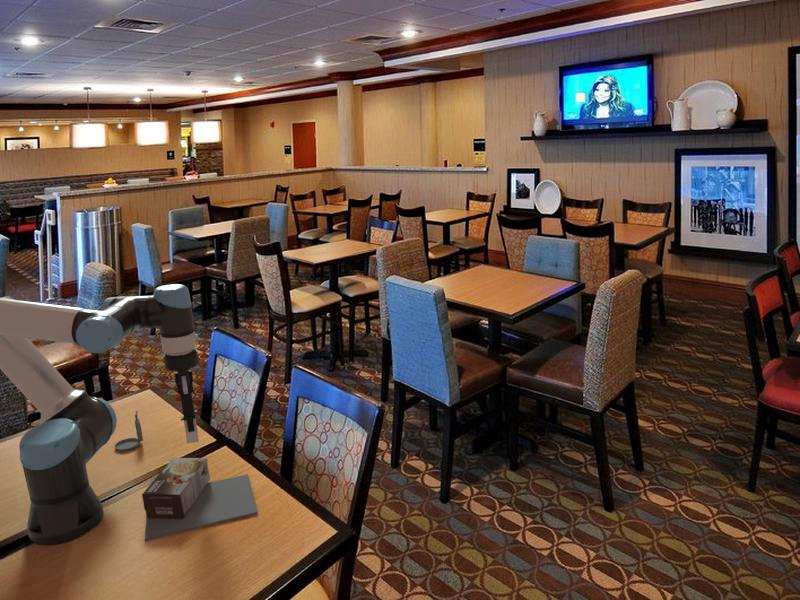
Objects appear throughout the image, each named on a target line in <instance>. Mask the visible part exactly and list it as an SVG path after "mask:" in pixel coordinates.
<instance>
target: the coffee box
mask: <svg viewBox="0 0 800 600" xmlns="http://www.w3.org/2000/svg"><path fill="white" fill-rule="evenodd" d="M209 470H210V469H209V465H208V459H207V458H206V457H203V458H202V457H173V458H171V459H170V461H169V462H168V463H167V464H166V465H165V467H164V468H163V469H162V470H161V471H160V473H159V474H158V475H157V476H156V477H155V478H154V480H153V481H152V482H151V483H150V484H149V486H147V488H146V489H145V490H144V491H143V493H142V494H141V497H142V503H143V508H144V511H145V517H146V516H147V518H184V517H185V515H186V514H187V512H188V511H189V509H190V508H191V506H192V505H193V503H194V502H195V501H196V499H197V498H198V496H199V495H200V493H201V492H202V490H203V489H204V488H205V486H206V485H207V483H209V481H210V480H211V476H210V471H209Z"/></svg>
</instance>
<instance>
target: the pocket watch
mask: <svg viewBox="0 0 800 600" xmlns="http://www.w3.org/2000/svg"><path fill="white" fill-rule="evenodd" d="M138 415H139V414H138V410H136V411H135V415H134V418H135V419H134V426H135V431H136V435H137V438H136V437H128V438H125V439H121V440H119V441H118V442H116V443H115V444H114V449H115V450H116V451H119V452H126V451H131V450H134V449H135V448H137V447H139V446H140V444H141V442H143V441H144V438H143V437H144V436H143V431H142V426H141V421H140V419H139V418H138Z"/></svg>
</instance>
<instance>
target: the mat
mask: <svg viewBox="0 0 800 600" xmlns="http://www.w3.org/2000/svg"><path fill="white" fill-rule="evenodd" d="M258 513H259V511H258V509H257V504H256V500H255V497H254V492H253V489H252V482H251V479H250V477H249V474H248V473H247V474H243V475H237V476H233V477H228V478H222V479H219V480H215V481H210V482H208V483H207V485H206V486H205V488H204V489H203V490H202V492H201V493H200V495H199V496H198V498H197V499H196V501H195V502H194V503H193V505H192V506H191V508H190V509H189V511H188V512H187V514H186V515H185V517H184V518H147V516H146V515H145V526H144V527H145V529H144V530H145V532H144V541H145V542H148V541H151V540H154V539H155V540H156V539H160V538H164V537H168V536H172V535H176V534H180V533H184V532H188V531H193V530H197V529H202V528H205V527H210V526H215V525H218V524H222V523H226V522H231V521H235V520H239V519H242V518H247V517H251V516H256V515H259V514H258Z"/></svg>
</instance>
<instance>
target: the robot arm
mask: <svg viewBox="0 0 800 600" xmlns="http://www.w3.org/2000/svg"><path fill="white" fill-rule="evenodd" d="M1 291H2V290H1V289H0V293H1ZM192 305H193V304H192V300H191V296H190V291H189V288H188V287H187V286H186V285H185V284H181V283H180V284H179V283H172V284H165V285H161V286H157V287H155V289H154V291H153V294H152V295H133V296H132V295H130V296H129V295H128V296H125V295H118V296H113V297H106V299H104V300H103V302H102V304H101V306H100V309H98V310H97V309H90V308H89V309H88V308H82V307H75V306H68V305H67V306H66V305H58V304H50V303H41V302H34V301H28V300H27V301H26V300H25V301H24V300H18V299H11V298H10V299H9V298H2V297H1V296H0V370H1V372H2V373H3V374H4V375H5V376H6V377H7V378H8V379H9V380H10V382H12V384H13V385H14V386H15V387H16V389H18V390H19V391H20V392H21V393H22V394H23V396H24V397H26V398H27V400H28V401H29V402H30V403H31V404H32V405H33V406H34V408H36V409H37V411H39V413H40V421H39V424H37V425H35V426H33V427H31V428H30V429H28V431H26V432H25V433H24V434H23V436H22V437H21V439H20V441H19V444H18V445H19V446H18V449H19V460H20V463H21V466H22V469H23V473H24V478H25V482H26V487H27V491H28V495H29V499H30V505H29V506H30V507H29V512H28V518H27V524H26V529H27V535H28V538H29V540H30V541H31V542H32V543H35V544H38V545H48V546H49V545H57V544H62V543H66V542H69V541H72V540H74V539H78V538H79V537H82V536H84V535H86V534H87V533H88V532H90V531H92V530H93V529H95V528H96V527H97V526H98V525H99V523H101V521H102V519H103V518H104V508H103V504H102V501H101V500H100V498H99V497H98V495H97V494H96V492H95V491H94V490H93V488H92V486H91V485H90V480H89V475H88V472H87V463H89V462H90V460H91V459H92V458H93V457H94V456H95V454H96V453H98V451H99V450H100V449H101V448H102V447H103V446H105V445H107V443H109V440H110V439H111V437H112V436H113V434H114V433H115V430H116V427H117V422H118V421H117V413H116V411H115V410H114V408H113V406H112V405H111V404H110V403H109V402H108V401H106V400H105V399H103V398H98V397H96V396H90V395H89V394H88V393H87V392H86V390H84V389H75V388H73V387H72V385H71V384H70V383H69V381H67V380H66V379H65V378H64V376H62V374H61V373H60V372H59V371H58V369H56V367H55V366H54V365H53V364H52V363H51V362H50V361H49V360H48V359H47V358H46V356H45V355H44V354H43V353H42V352H41V351H40V350H39V348H38V347H37V346H36V345H35V344H34V343H33V341H31V340H30V339H32V340H41V341H50V342H51V341H52V342H56V343H57V342H59V343H67V344H76V345H79V347H81V348H82V349H83V350H84V351H87V352H88V353H91V354H102V353H106V352H107V351H109V350H111V349H113V348H115V347H116V346H118V345H119V343H121V341H123V340H125V338H127V337H128V336H130V335H131V334H132V333H134V332H135V331H137V330H139V329H155V328H158V329H159V334H160V337H159V338H160V342H161V347H162V353H163V360H164V368H165V369H166V370H167V371H172V372H174V381H175V384H176V386H177V392H178V395H180V399H181V407H182V415H183V416H181V417H180V421H183V423H184V430H185V439H186V444H193V443H197V442H200V440H199V434H198V433H199V432H198V427H197V418H196V414H198V409H195V405H194V401H193V394H192V393H193V392H194V385H193V384H194V383H193V382H194V377H193V370H191V369H194V368H196V366H198V365H199V354H198V349H197V342H196V341H197V339H198V338H199V335H198V334H197V333H196V332H195V326H194V316H193V307H192Z"/></svg>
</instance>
